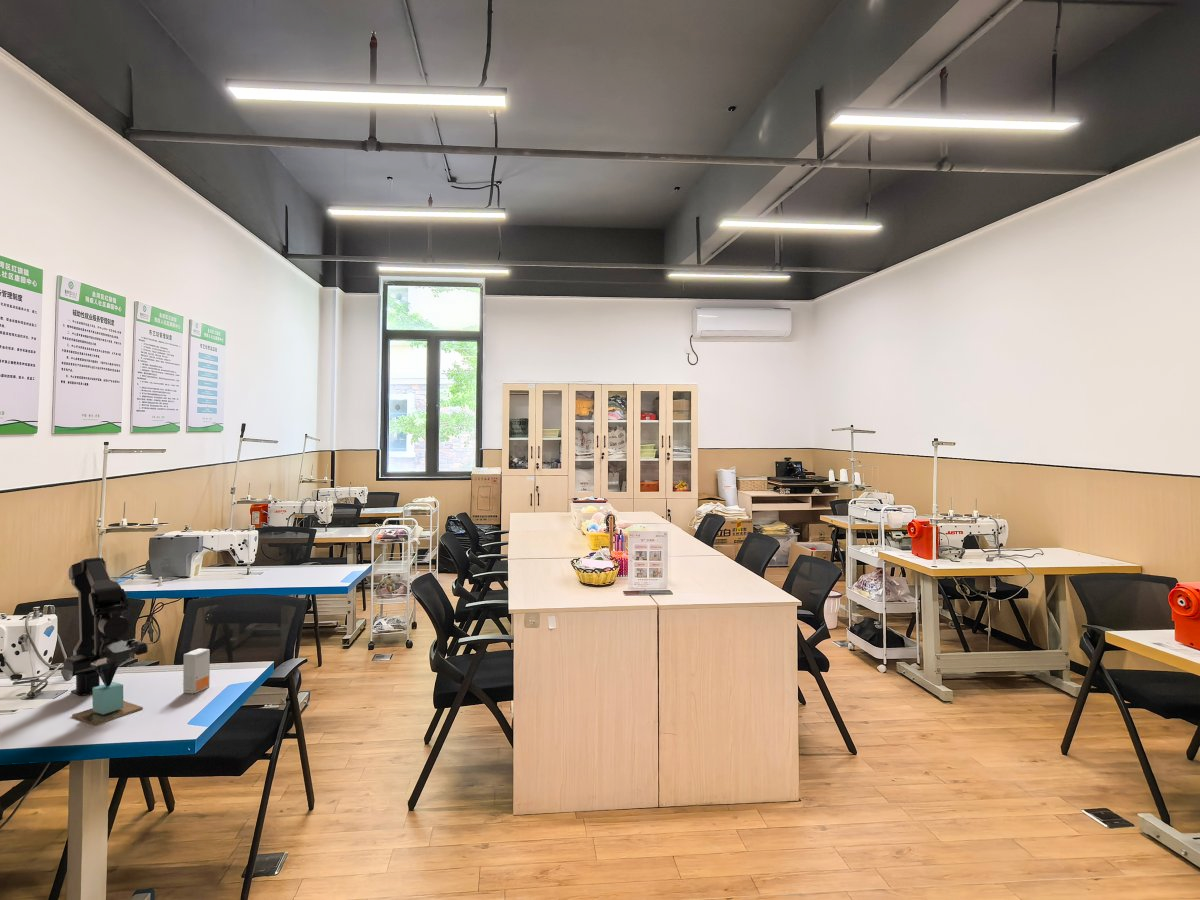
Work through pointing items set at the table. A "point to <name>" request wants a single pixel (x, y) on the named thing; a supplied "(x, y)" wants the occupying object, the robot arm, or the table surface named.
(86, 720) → the brown square base plate
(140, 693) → the table surface
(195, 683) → the skincare box
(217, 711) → the table surface
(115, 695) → the teal rectangular block
